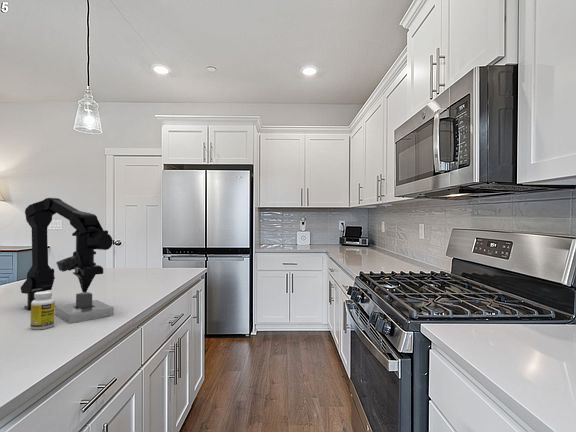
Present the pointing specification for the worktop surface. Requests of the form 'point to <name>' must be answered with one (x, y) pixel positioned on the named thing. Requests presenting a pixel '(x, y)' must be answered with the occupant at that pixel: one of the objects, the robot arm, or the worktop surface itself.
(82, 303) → the plug
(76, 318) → the socket plate
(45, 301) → the pill bottle
